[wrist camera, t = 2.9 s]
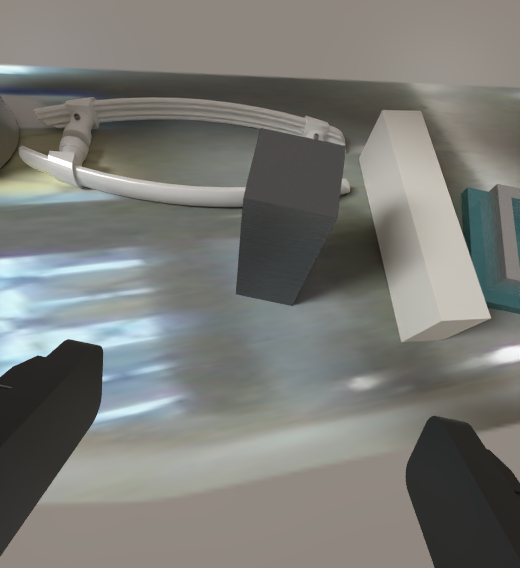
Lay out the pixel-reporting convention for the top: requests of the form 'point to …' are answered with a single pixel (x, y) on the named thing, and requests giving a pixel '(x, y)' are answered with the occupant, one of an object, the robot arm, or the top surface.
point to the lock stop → (287, 213)
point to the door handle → (91, 112)
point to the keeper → (494, 243)
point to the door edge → (419, 232)
